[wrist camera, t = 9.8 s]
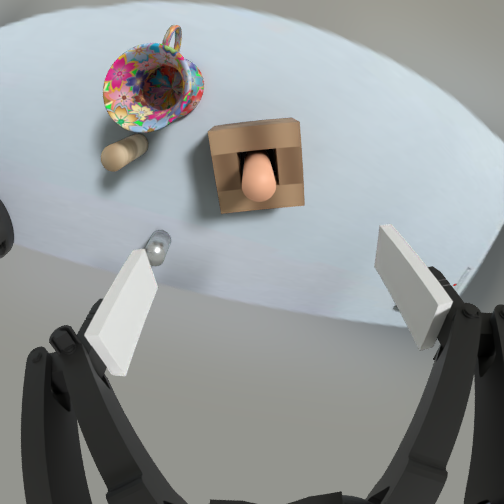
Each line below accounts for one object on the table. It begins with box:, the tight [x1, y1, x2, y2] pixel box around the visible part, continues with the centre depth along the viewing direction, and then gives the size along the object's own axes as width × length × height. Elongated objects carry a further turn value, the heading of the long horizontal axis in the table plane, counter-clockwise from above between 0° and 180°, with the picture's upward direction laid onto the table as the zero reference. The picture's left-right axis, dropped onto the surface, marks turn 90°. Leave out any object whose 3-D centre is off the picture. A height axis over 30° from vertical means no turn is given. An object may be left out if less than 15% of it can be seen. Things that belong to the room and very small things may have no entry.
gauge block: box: [208, 118, 305, 214], centre depth 34 cm, size 10×10×6 cm
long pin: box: [242, 149, 276, 202], centre depth 31 cm, size 3×3×12 cm
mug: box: [103, 25, 204, 133], centre depth 26 cm, size 12×9×11 cm
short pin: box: [145, 230, 171, 266], centre depth 40 cm, size 3×3×5 cm
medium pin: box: [101, 134, 148, 172], centre depth 31 cm, size 3×3×8 cm
